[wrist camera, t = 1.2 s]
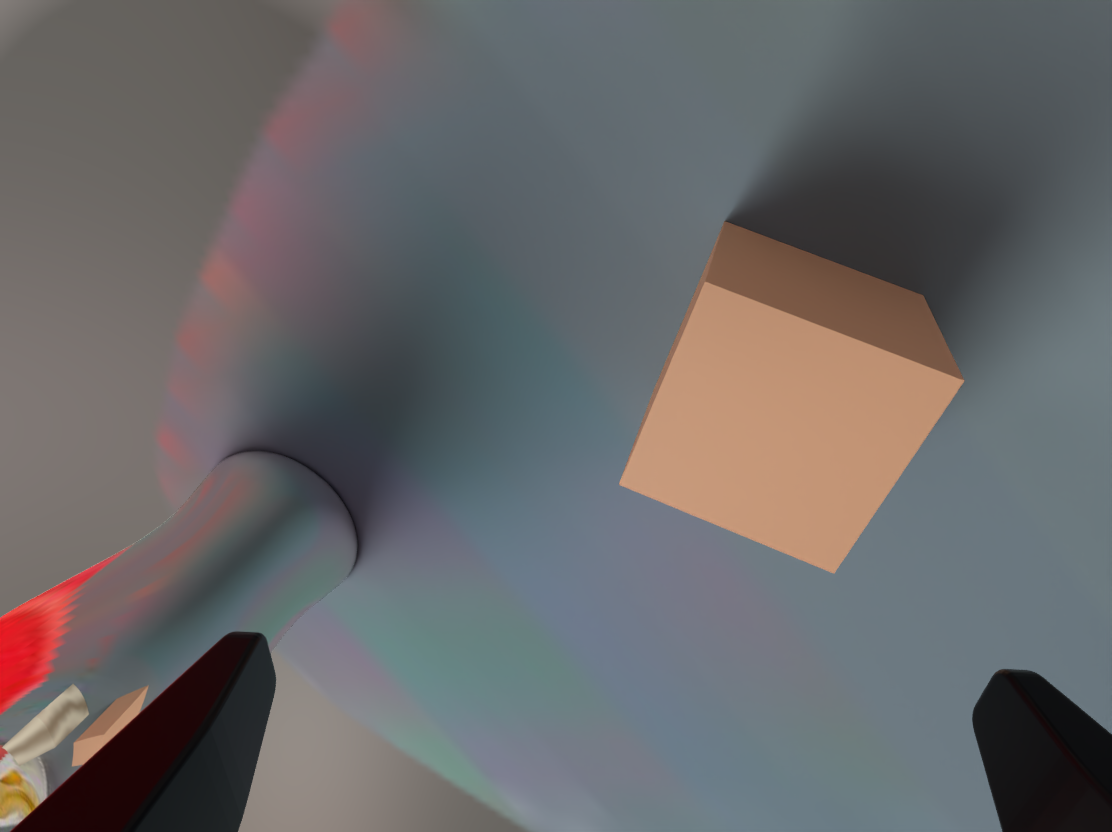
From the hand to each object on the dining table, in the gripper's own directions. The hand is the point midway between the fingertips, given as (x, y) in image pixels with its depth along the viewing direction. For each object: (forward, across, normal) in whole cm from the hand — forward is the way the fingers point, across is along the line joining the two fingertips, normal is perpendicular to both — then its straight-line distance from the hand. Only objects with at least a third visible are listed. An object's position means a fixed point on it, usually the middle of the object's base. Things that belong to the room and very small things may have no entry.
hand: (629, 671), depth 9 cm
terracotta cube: (+11, -5, +1) cm, 12 cm away
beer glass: (+14, +10, +11) cm, 21 cm away
